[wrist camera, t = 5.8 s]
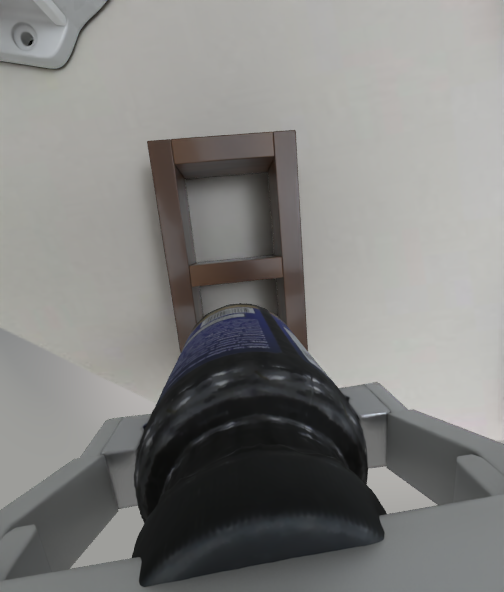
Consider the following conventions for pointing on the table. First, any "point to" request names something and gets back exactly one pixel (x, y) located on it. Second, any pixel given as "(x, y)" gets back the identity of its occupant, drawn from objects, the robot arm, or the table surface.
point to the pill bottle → (249, 456)
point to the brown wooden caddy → (190, 275)
